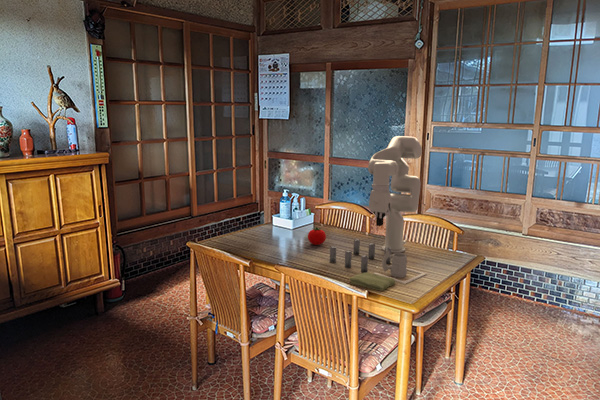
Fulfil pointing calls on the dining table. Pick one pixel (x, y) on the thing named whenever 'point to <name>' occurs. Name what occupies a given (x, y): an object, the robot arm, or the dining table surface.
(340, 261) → the dining table surface
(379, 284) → the washcloth
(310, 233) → the tomato
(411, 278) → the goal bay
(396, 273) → the mug
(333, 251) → the posts
